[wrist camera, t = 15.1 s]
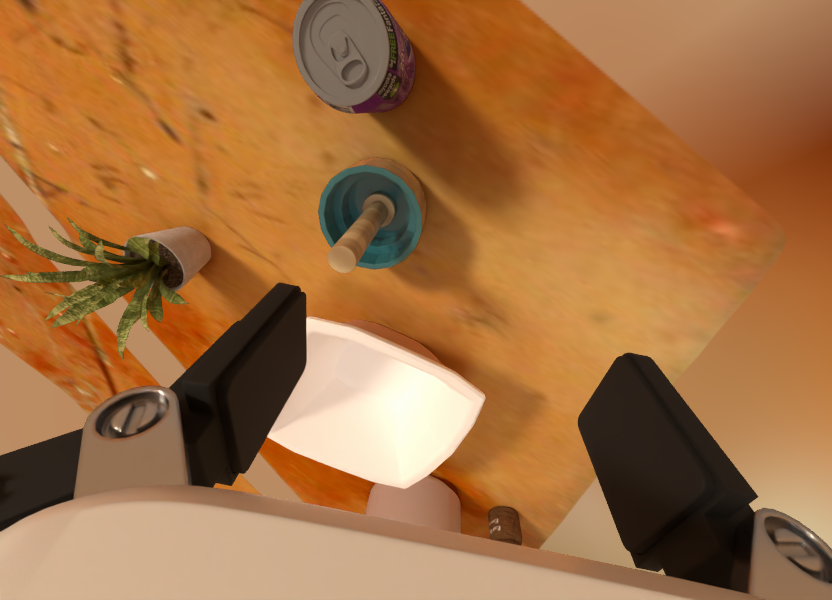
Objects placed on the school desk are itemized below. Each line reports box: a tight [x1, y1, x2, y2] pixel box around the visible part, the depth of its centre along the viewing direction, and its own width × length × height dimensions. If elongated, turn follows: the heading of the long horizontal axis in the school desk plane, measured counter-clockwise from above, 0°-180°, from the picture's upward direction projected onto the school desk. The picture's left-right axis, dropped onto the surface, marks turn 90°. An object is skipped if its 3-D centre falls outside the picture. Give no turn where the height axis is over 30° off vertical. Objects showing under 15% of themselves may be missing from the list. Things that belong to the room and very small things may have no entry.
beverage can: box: [293, 0, 416, 113], centre depth 26 cm, size 7×7×12 cm
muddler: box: [328, 192, 396, 273], centre depth 31 cm, size 4×4×15 cm
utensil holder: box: [489, 507, 522, 546], centre depth 61 cm, size 6×6×12 cm
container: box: [365, 475, 461, 534], centre depth 61 cm, size 18×18×12 cm
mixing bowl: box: [318, 157, 426, 269], centre depth 35 cm, size 10×10×6 cm
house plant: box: [1, 218, 211, 360], centre depth 35 cm, size 14×14×16 cm
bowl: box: [267, 316, 486, 489], centre depth 45 cm, size 24×25×11 cm
